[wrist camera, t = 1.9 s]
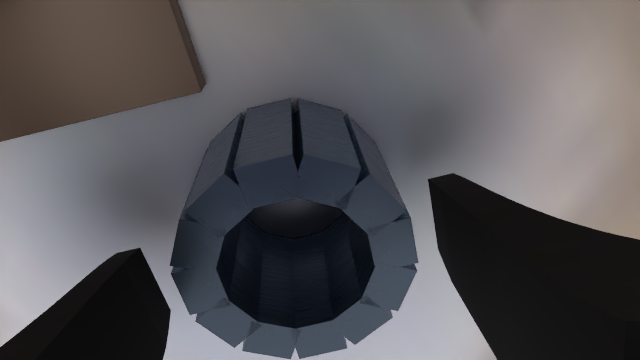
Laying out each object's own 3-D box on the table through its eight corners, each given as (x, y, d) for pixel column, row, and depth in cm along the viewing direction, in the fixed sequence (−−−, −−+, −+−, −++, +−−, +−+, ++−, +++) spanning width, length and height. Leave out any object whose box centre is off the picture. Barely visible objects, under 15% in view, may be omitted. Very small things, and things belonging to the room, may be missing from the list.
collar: (365, 80, 13) (395, 129, 9) (396, 241, 15) (429, 330, 12) (174, 126, 13) (133, 192, 10) (233, 279, 16) (218, 377, 12)
